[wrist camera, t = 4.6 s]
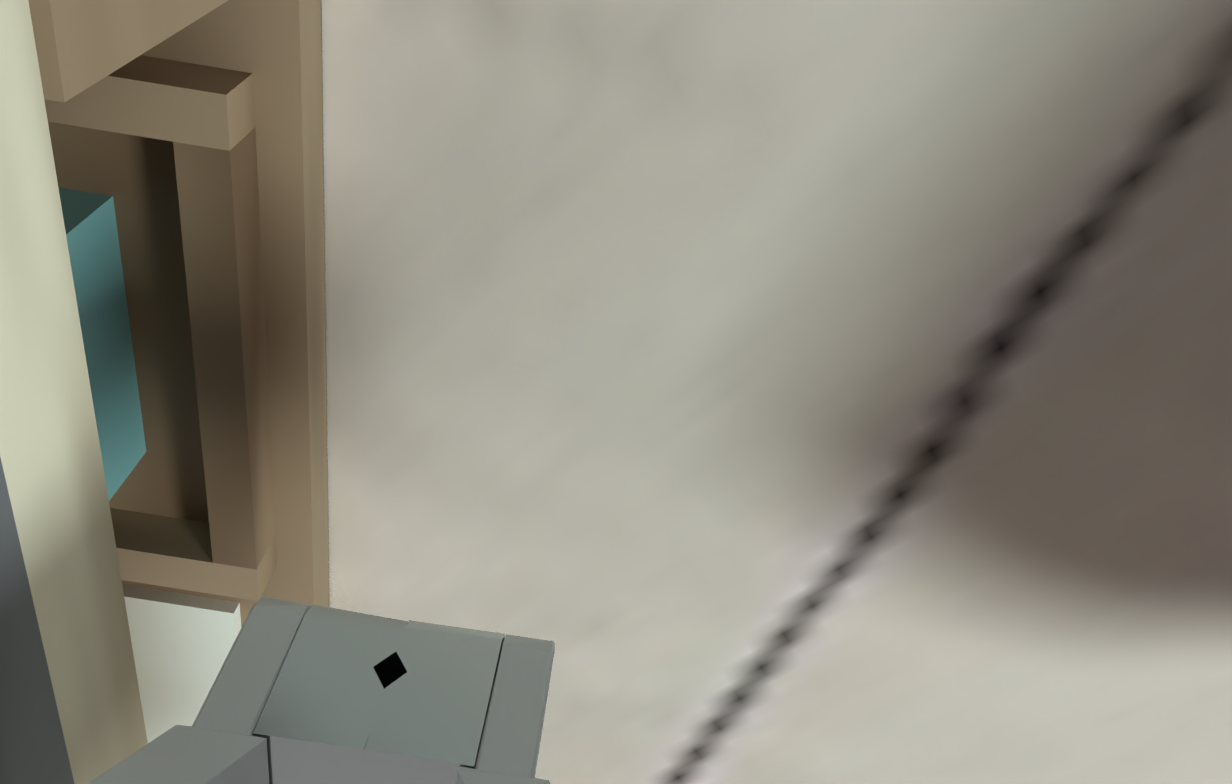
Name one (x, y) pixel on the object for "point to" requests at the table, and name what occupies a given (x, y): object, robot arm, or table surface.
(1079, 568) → the table surface
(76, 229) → the teal block
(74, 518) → the sliding lid
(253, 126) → the puzzle board
